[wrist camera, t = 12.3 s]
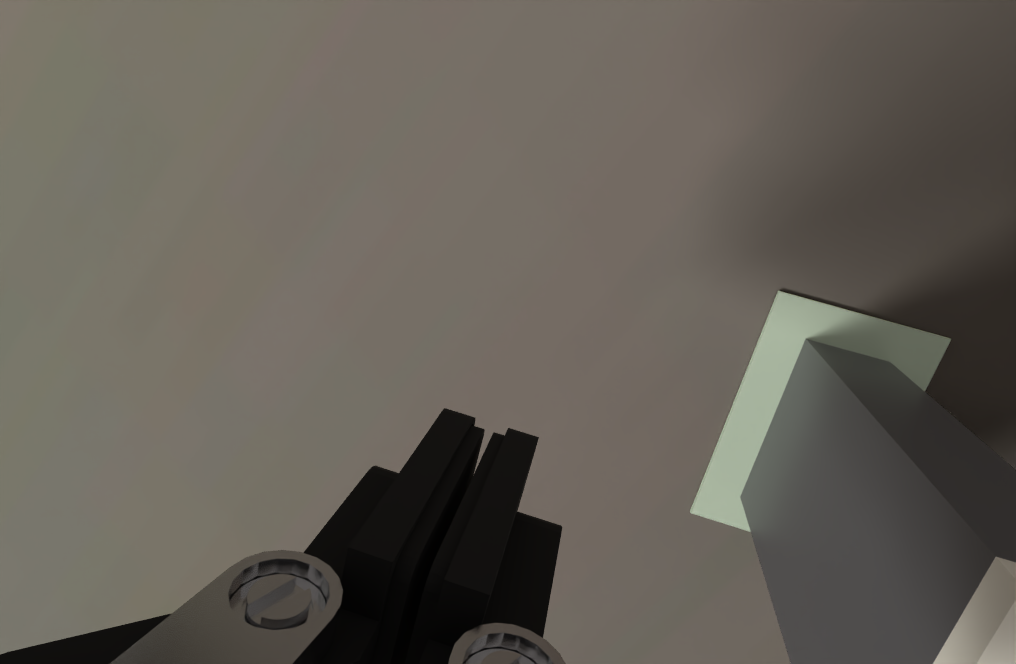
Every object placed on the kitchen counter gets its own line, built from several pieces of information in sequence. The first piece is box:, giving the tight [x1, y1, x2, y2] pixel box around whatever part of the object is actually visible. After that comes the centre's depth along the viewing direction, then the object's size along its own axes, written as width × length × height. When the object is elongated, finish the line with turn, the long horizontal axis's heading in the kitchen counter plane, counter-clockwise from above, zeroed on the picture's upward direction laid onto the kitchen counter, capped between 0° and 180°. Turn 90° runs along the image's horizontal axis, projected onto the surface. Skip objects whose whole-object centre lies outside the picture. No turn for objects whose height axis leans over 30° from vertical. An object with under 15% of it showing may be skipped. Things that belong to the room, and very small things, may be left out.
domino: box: [740, 339, 1016, 664], centre depth 13 cm, size 5×2×10 cm, turn 167°
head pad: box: [690, 290, 951, 532], centre depth 18 cm, size 7×4×1 cm, turn 166°
